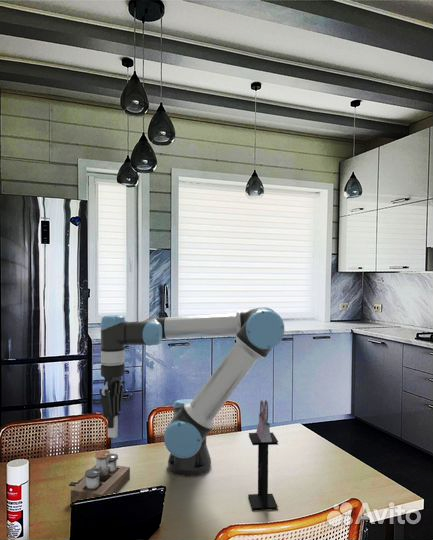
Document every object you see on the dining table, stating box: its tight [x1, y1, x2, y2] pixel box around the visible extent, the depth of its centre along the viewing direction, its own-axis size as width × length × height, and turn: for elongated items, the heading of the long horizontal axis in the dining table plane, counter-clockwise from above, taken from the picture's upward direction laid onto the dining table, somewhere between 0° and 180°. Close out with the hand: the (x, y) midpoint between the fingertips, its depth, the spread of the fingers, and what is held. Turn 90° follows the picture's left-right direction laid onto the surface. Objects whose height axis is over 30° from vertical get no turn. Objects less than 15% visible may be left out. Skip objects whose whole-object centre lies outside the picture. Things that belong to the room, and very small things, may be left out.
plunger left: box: [84, 467, 101, 491], centre depth 122 cm, size 4×4×8 cm
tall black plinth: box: [247, 399, 279, 512], centre depth 121 cm, size 10×8×30 cm
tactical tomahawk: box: [69, 464, 96, 487], centre depth 140 cm, size 21×7×1 cm, turn 166°
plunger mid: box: [94, 450, 111, 482], centre depth 127 cm, size 4×4×8 cm
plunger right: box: [108, 453, 119, 474], centre depth 132 cm, size 4×4×8 cm
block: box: [70, 465, 131, 504], centre depth 127 cm, size 10×18×4 cm, turn 166°
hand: (112, 436), depth 133 cm, fingers closed
